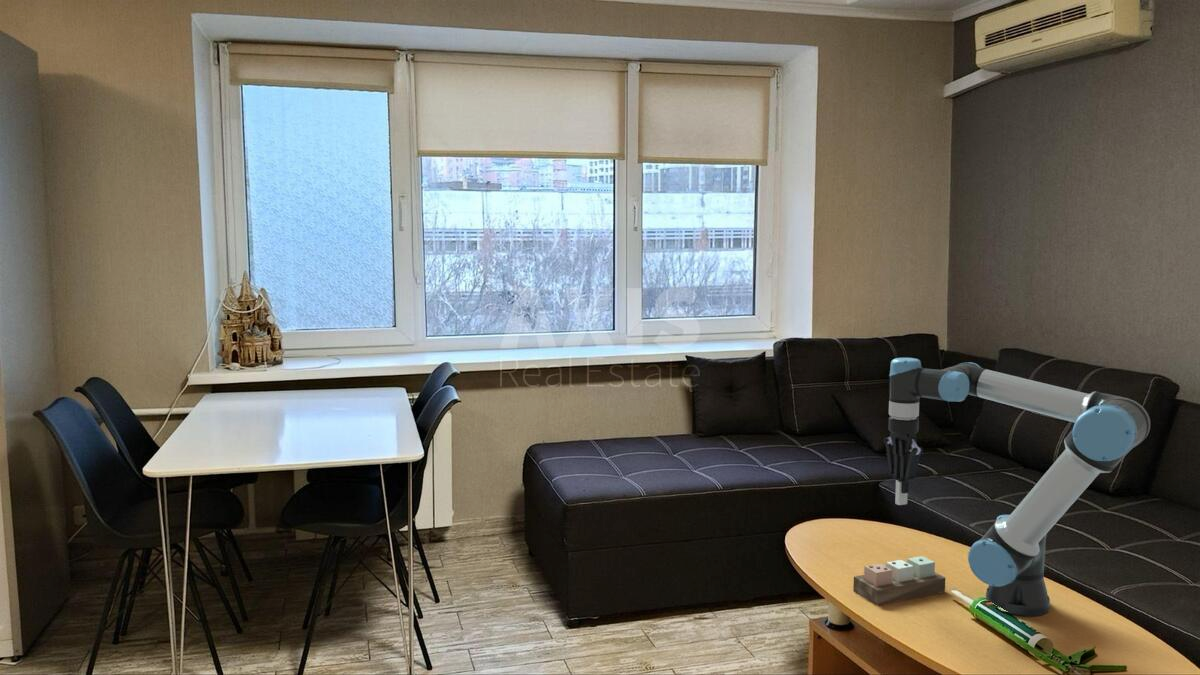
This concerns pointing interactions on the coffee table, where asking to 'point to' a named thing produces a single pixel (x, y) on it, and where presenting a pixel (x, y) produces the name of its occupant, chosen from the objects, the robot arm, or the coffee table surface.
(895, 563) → the tile two
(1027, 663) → the coffee table surface
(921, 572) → the tile one
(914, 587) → the board
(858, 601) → the coffee table surface
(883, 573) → the tile three
